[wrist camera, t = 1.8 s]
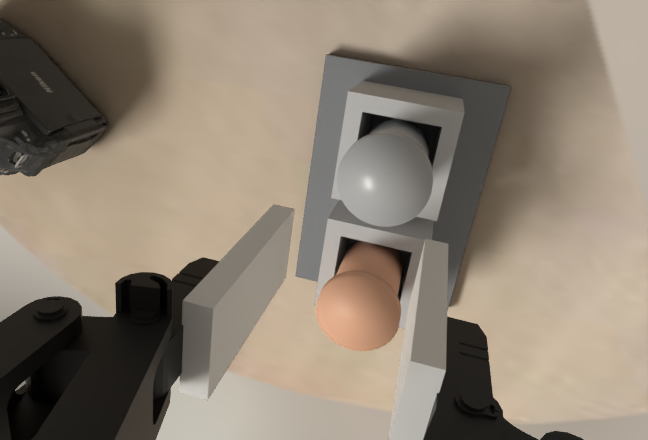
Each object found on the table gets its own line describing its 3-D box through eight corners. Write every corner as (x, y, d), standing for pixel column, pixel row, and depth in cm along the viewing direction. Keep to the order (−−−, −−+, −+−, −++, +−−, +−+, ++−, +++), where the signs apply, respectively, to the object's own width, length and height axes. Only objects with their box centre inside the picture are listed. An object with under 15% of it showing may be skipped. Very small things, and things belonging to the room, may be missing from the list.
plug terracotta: (344, 225, 34) (322, 268, 28) (415, 241, 33) (407, 289, 27) (333, 287, 36) (310, 338, 30) (400, 303, 35) (390, 359, 29)
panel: (328, 53, 34) (305, 61, 29) (510, 85, 32) (521, 99, 27) (298, 271, 41) (274, 310, 36) (446, 308, 39) (445, 355, 34)
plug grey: (364, 105, 31) (344, 126, 25) (444, 120, 30) (442, 145, 24) (351, 180, 32) (330, 215, 27) (426, 196, 32) (420, 235, 26)
